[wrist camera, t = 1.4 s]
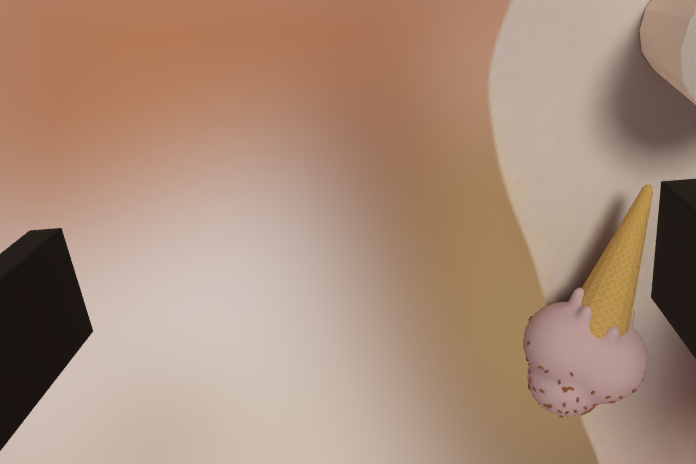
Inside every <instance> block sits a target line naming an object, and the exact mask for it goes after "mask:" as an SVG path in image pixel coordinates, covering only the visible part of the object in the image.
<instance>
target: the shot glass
mask: <svg viewBox="0 0 696 464" xmlns="http://www.w3.org/2000/svg"><path fill="white" fill-rule="evenodd" d="M639 32H640V41H641V50H642V53H643V55H644V56H645V58H646V59H647V61H648V63H649V64H650V66H651V67H652V69H653V70H654V71H656V72H657V73H658V74H659V75H660V76H662V77H663V78H664V79H665V80H666V81H668V82H669V83H670V84H671V85H672V86H674V87H675V88H676V89H677V90H678V91H680V92H681V93H682V94H683V95H684V96H685V97H687V98H688V99H689V100H690V101H691V102H693V103H694V104H695V105H696V0H651V2H650V3H649V5H648V6H647V7H646V9H645V12H644V16H643V20H642V23H641V27H640V30H639Z"/></svg>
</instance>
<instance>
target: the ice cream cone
mask: <svg viewBox="0 0 696 464" xmlns="http://www.w3.org/2000/svg"><path fill="white" fill-rule="evenodd" d="M652 194H653V187H652V186H651V185H645V186H644V187H643V188H642V190H641V191H640V193H639V194H638V196H637V198H636V199H635V201H634V203H633V204H632V206H631V208H630V209H629V211H628V213H627V214H626V216H625V218H624V219H623V221H622V222H621V224H620V226H619V227H618V229H617V231H616V232H615V234H614V236H613V237H612V239H611V241H610V242H609V244H608V246H607V247H606V249H605V250H604V252H603V254H602V255H601V257H600V259H599V260H598V262H597V264H596V265H595V267H594V269H593V270H592V272H591V274H590V275H589V277H588V279H587V280H586V282H585V283H584V285H583V287H582V288H577V289H575V290H574V292H573V294H572V296H571V298H570V300H569V301H568V302H557V303H552V304H550V305H547V306H545V307H544V308H542V309H540V310H539V311H538V312H536V313H535V314H534V315H533V316H531V317H530V318H529V323H528V325H527V327H526V330H525V333H524V350H525V354H526V360H527V361H528V362H529V364H528V365H529V368H528V388H529V389H530V391H531V393H532V395H533V397H534V398H535V399H536V401H537V402H538V404H539V405H541V406H542V407H543V408H545V409H546V410H548V411H549V412H551V413H554V414H557V415H559V416H560V417H563V416H576V415H580V414H581V415H583V414H586V413H587V412H590V411H591V410H592V409H594V408H595V406H597V405H598V404H605V403H615V402H616V401H619V400H621V399H623V398H625V397H627V396H629V395H630V394H631V393H634V392H635V391H636V388H637V387H638V386H639V384H640V383H641V382H642V381H643V378H644V375H645V372H646V367H647V353H646V349H645V346H644V343H643V341H642V338H641V337H640V335H639V333H638V332H637V331H636V330H635V328H634V326H633V318H634V310H633V303H634V298H635V292H636V286H637V280H638V275H639V269H640V263H641V257H642V252H643V246H644V240H645V234H646V229H647V223H648V217H649V212H650V206H651V200H652Z"/></svg>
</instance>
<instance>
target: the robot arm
mask: <svg viewBox="0 0 696 464" xmlns="http://www.w3.org/2000/svg"><path fill="white" fill-rule="evenodd" d="M651 298H652V299H653V301H654V302H655V303H656V305H657V306H658V308H659V309H660V310H661V312H662V313H663V314H664V316H665V317H666V319H667V320H668V321H669V323H670V324H671V325H672V327H673V328H674V330H675V331H676V332H677V334H678V335H679V336H680V338H681V339H682V341H683V342H684V343H685V345H686V346H687V347H688V349H689V350H690V352H691V353H692V354H693V356H694V357H695V358H696V179H687V180H674V181H661V190H660V202H659V213H658V225H657V236H656V247H655V259H654V270H653V282H652V293H651ZM92 332H93V329H92V326H91V322H90V320H89V316H88V313H87V310H86V306H85V303H84V300H83V297H82V293H81V290H80V287H79V284H78V280H77V277H76V274H75V271H74V267H73V264H72V261H71V258H70V255H69V251H68V248H67V245H66V241H65V238H64V235H63V232H62V228H56V229H44V230H31V231H29V232H27V233H26V234H25V235H23V236H22V237H21V238H20V239H18V241H16V242H15V243H13V244H12V245H11V246H10V247H8V248H7V249H6V250H4V251H3V252H2V253H1V254H0V451H1V449H2V448H3V447H4V446H5V444H6V443H7V442H8V440H9V439H10V438H11V437H12V435H13V434H14V432H15V431H16V430H17V429H18V428H19V426H20V425H21V424H22V422H23V421H24V420H25V418H26V417H27V416H28V415H29V413H30V412H31V411H32V409H33V408H34V407H35V406H36V404H37V403H38V402H39V400H40V399H41V398H42V397H43V395H44V394H45V393H46V391H47V390H48V389H49V388H50V386H51V385H52V384H53V382H54V381H55V380H56V379H57V377H58V376H59V375H60V373H61V372H62V371H63V369H64V368H65V367H66V366H67V364H68V363H69V362H70V360H71V359H72V358H73V357H74V355H75V354H76V353H77V351H78V350H79V349H80V348H81V346H82V345H83V344H84V342H85V341H86V340H87V339H88V337H89V336H90V335H91V333H92Z"/></svg>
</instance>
